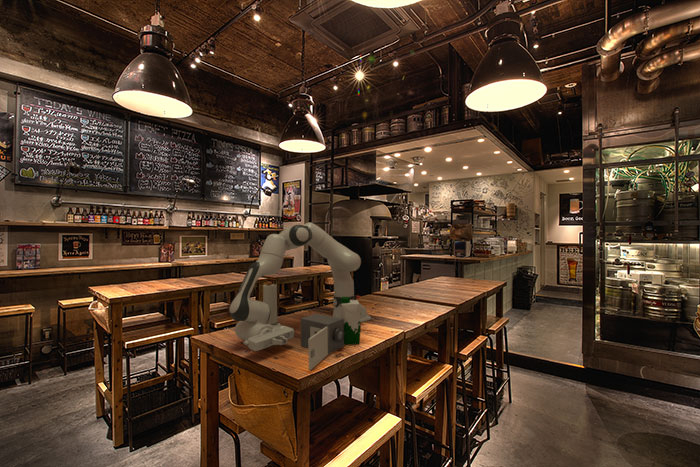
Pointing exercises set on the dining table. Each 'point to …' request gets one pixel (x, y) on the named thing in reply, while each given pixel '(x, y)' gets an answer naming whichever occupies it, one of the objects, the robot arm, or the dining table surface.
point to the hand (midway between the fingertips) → (284, 342)
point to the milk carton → (350, 320)
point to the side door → (318, 347)
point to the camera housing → (317, 323)
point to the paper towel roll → (271, 301)
